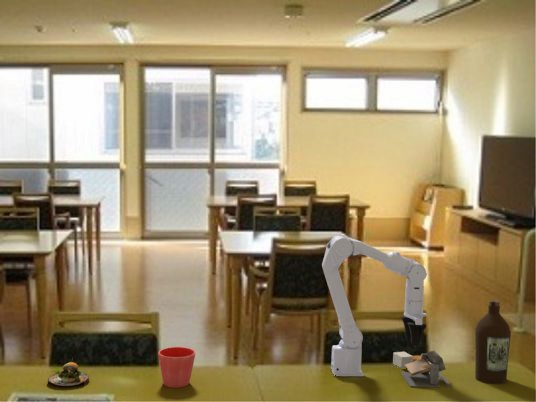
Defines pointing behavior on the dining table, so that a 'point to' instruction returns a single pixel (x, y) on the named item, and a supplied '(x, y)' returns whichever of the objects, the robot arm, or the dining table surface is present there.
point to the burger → (69, 376)
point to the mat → (418, 380)
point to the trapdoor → (425, 364)
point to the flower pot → (176, 365)
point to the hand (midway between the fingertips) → (412, 341)
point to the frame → (434, 372)
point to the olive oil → (492, 346)
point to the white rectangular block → (402, 359)
